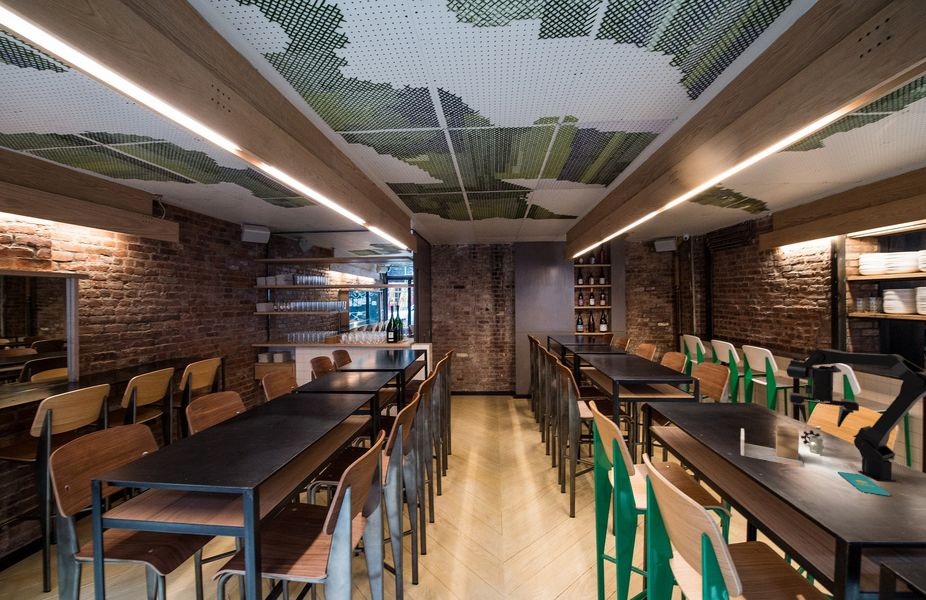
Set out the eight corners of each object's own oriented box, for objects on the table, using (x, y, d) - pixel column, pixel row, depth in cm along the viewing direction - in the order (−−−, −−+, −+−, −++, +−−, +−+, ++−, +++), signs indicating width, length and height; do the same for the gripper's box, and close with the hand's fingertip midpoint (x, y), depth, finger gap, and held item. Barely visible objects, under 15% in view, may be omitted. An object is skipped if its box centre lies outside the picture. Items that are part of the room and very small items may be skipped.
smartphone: (861, 491, 122) (836, 470, 136) (861, 493, 122) (836, 473, 136) (892, 496, 119) (863, 474, 133) (892, 498, 119) (863, 477, 133)
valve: (828, 458, 148) (822, 448, 157) (828, 440, 147) (822, 431, 157) (805, 454, 151) (800, 444, 161) (805, 437, 151) (800, 428, 161)
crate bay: (799, 455, 149) (800, 438, 149) (805, 469, 137) (805, 450, 137) (740, 444, 160) (741, 428, 160) (740, 456, 148) (741, 439, 148)
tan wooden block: (796, 456, 147) (796, 428, 147) (798, 462, 141) (799, 433, 141) (775, 452, 150) (776, 425, 150) (776, 458, 145) (777, 430, 145)
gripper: (852, 382, 147) (851, 423, 147) (787, 375, 158) (786, 414, 158) (859, 387, 138) (858, 432, 138) (790, 380, 149) (789, 421, 149)
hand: (821, 424), depth 146 cm, fingers open, 9 cm apart
